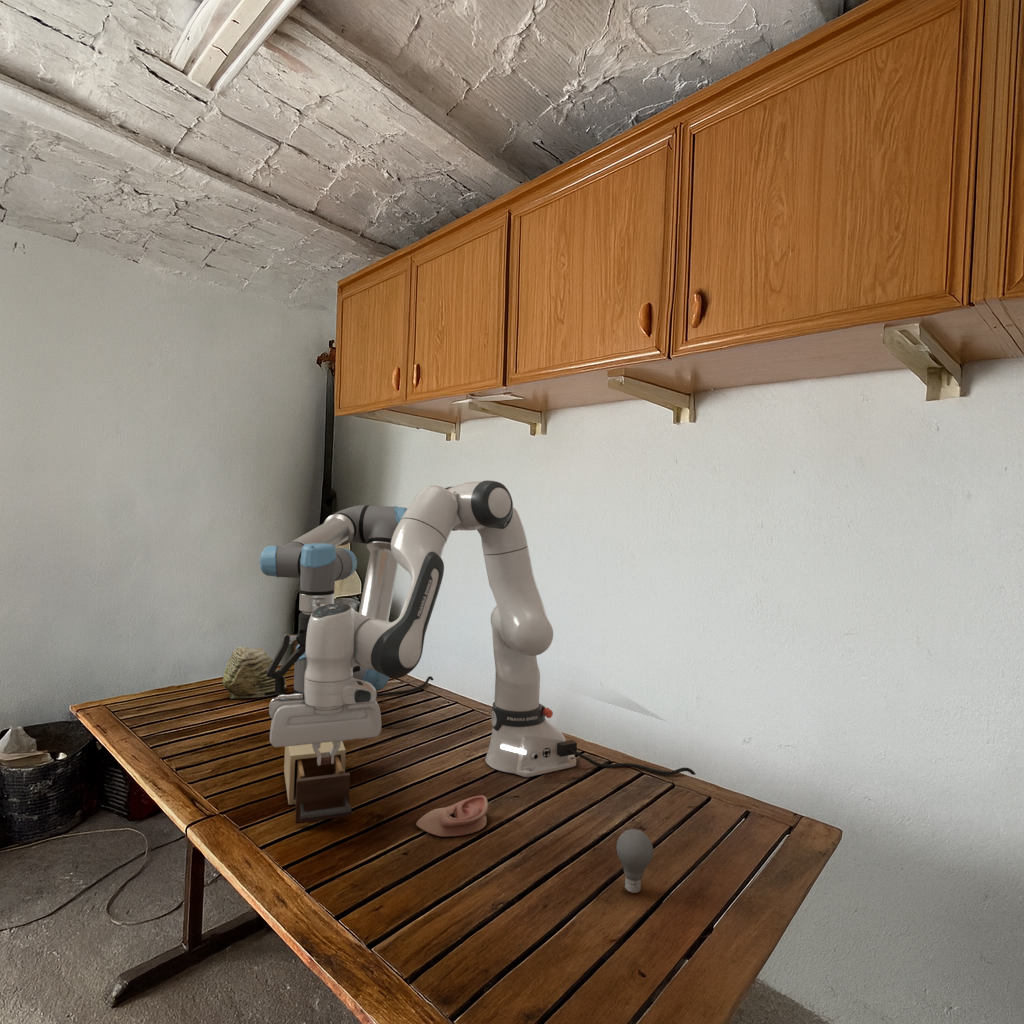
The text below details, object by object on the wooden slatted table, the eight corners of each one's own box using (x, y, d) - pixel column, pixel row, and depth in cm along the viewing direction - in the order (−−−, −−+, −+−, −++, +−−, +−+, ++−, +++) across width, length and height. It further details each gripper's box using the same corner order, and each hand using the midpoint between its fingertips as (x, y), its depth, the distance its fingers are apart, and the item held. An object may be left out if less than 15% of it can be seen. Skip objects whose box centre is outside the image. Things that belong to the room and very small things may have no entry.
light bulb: (610, 879, 108) (613, 822, 108) (644, 879, 109) (647, 822, 109) (619, 902, 102) (622, 840, 102) (655, 901, 103) (658, 840, 103)
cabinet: (343, 797, 134) (345, 749, 134) (288, 805, 130) (290, 755, 129) (333, 765, 149) (335, 722, 149) (283, 771, 145) (285, 727, 145)
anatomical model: (411, 811, 121) (430, 785, 132) (410, 832, 121) (430, 804, 132) (478, 821, 118) (492, 794, 129) (477, 842, 118) (492, 813, 129)
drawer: (353, 830, 119) (354, 787, 119) (297, 839, 115) (299, 795, 115) (337, 782, 139) (339, 745, 138) (290, 788, 135) (291, 750, 135)
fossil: (218, 695, 195) (220, 647, 195) (278, 685, 208) (279, 640, 207) (228, 703, 189) (230, 653, 188) (289, 692, 201) (290, 645, 201)
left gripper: (257, 617, 135) (254, 715, 136) (374, 613, 145) (371, 704, 146) (257, 610, 142) (254, 704, 143) (369, 607, 152) (365, 694, 153)
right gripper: (270, 700, 113) (267, 777, 113) (384, 692, 120) (381, 764, 121) (268, 690, 118) (266, 763, 119) (378, 682, 126) (375, 751, 127)
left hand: (313, 704), depth 144 cm, fingers open, 13 cm apart
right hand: (325, 763), depth 120 cm, fingers closed
